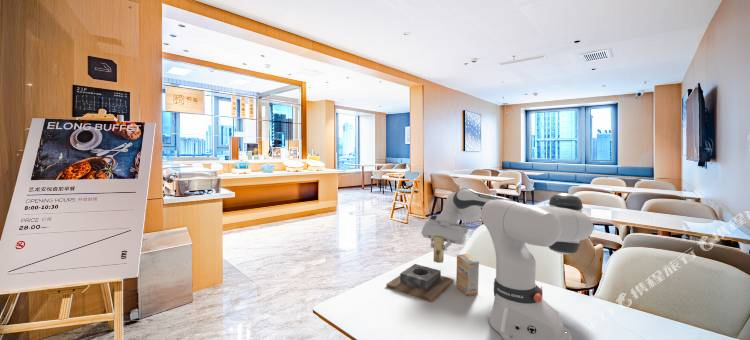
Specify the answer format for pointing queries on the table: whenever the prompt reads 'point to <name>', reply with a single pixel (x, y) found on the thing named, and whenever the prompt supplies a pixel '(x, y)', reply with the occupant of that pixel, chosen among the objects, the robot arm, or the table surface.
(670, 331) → the table surface
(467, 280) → the supplement box
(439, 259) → the brass plug
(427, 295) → the socket board
